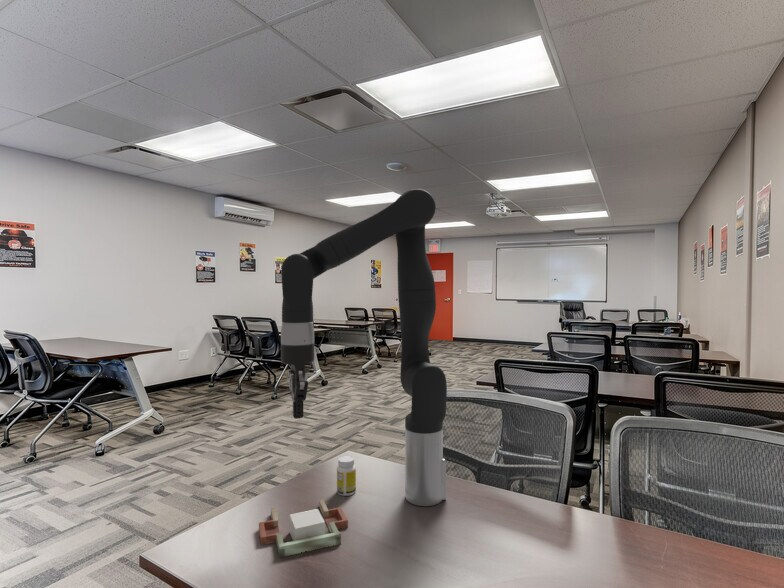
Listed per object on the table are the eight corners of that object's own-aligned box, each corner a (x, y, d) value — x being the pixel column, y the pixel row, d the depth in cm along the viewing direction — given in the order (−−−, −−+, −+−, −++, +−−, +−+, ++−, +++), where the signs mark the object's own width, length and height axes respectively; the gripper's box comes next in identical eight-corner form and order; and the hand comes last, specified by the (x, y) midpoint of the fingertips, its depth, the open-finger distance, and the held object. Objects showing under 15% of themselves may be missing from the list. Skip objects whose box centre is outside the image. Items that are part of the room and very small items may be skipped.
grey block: (317, 527, 93) (317, 508, 93) (325, 541, 88) (325, 522, 88) (289, 533, 91) (289, 514, 91) (295, 548, 85) (295, 528, 85)
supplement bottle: (357, 488, 111) (357, 455, 111) (354, 496, 106) (353, 462, 106) (339, 487, 111) (339, 455, 111) (335, 496, 107) (334, 462, 107)
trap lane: (335, 502, 103) (335, 494, 103) (355, 540, 87) (355, 531, 87) (256, 517, 97) (256, 508, 97) (263, 561, 81) (263, 550, 81)
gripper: (319, 344, 94) (320, 423, 94) (308, 338, 106) (309, 408, 106) (284, 345, 91) (285, 427, 91) (277, 339, 103) (277, 411, 103)
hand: (298, 417), depth 99 cm, fingers closed
